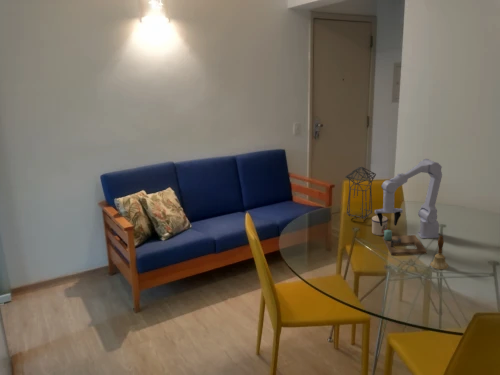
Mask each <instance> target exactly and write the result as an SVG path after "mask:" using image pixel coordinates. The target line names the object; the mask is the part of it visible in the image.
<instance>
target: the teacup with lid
mask: <svg viewBox="0 0 500 375" xmlns="http://www.w3.org/2000/svg"><path fill="white" fill-rule="evenodd" d="M382 216H383V218H382V226H380V221H379V218H378V216H377V215H374V216H372V217H371V232H372V234H373V235H375V236H384V231H385V230H388V220H389V219H388V217H387V216H385V215H382Z"/></svg>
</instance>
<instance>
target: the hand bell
mask: <svg viewBox="0 0 500 375" xmlns="http://www.w3.org/2000/svg"><path fill="white" fill-rule="evenodd" d="M444 242H445V241H444V237H443V235H439V238H437V246H438V249H437V250H438V251H437V253H436V254H435V255H434V258H433V261H431V262H430V264H429V265H430V267H431V266H432V267H431V268H433V269H434V270H435V269H436V270H447V269H448V268H449V264H448V263H447V262H446V261H447V260H446V256H445V255H444V254H443V246H444Z"/></svg>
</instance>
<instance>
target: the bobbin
mask: <svg viewBox="0 0 500 375" xmlns="http://www.w3.org/2000/svg"><path fill="white" fill-rule="evenodd" d="M392 236H393V231H392V230H391V229H387V230H385V231H384V235H383V237H384V240H386V241H391V240H392Z"/></svg>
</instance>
